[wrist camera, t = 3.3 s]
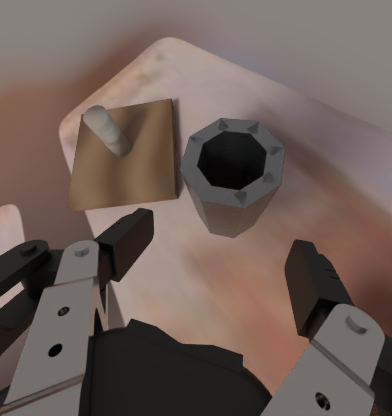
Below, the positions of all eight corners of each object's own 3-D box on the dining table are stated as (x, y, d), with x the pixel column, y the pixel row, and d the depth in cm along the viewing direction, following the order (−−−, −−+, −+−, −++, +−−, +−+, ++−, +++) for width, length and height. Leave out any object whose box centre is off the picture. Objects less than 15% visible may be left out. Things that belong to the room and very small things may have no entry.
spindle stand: (173, 107, 27) (157, 54, 20) (178, 198, 22) (159, 167, 15) (88, 122, 28) (47, 76, 21) (75, 211, 23) (18, 187, 17)
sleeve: (258, 189, 21) (288, 123, 12) (250, 241, 19) (277, 214, 10) (206, 181, 22) (195, 115, 13) (194, 230, 21) (172, 195, 11)
